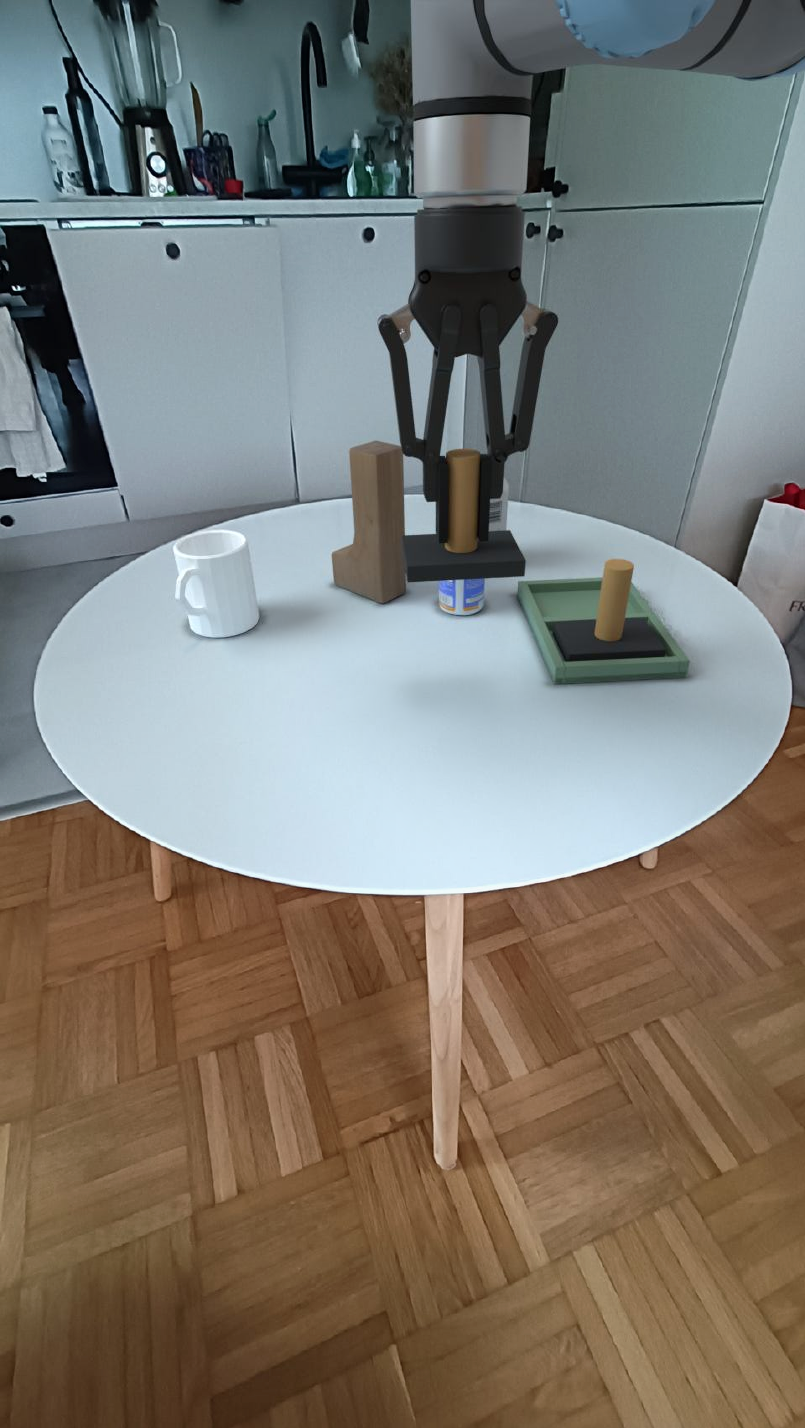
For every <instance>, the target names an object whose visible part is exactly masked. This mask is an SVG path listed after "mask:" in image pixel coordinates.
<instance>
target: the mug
mask: <svg viewBox="0 0 805 1428" xmlns="http://www.w3.org/2000/svg"><path fill="white" fill-rule="evenodd" d="M172 549H173V550H172V551H173V554H174V559H175V564H176V568H177V573H178V577H177V579H176V584H175V594H174V599H175V601H176V603H177V604H178V605H179V607H180V608H181V610H182V612H183V613H184V615H186V616H187V618H188V622H189V627H190V629H191V631H193V632H194V634H196V635H199V636H201V637H206V638H214V639H216V638H217V639H219V638H228V637H234V636H237V635H241V634H243V633H246V632H248V631H249V630H251V629H253V628H254V627H255V626H256V625H257V624H258V622H259V619H260V611H259V604H258V598H257V591H256V584H255V578H254V572H253V566H252V560H251V552H250V547H249V541H248V538H247V536H245V535H244V534H242V533H241V532H238V531H234V530H229V529H228V530H227V529H210V530H203V531H198V532H194V533H190V534H188V535H186V536H183V537H182V538H180V539H179V540H177V541H176V542H175V543H174V545H173V546H172Z"/></svg>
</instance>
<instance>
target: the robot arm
mask: <svg viewBox="0 0 805 1428" xmlns="http://www.w3.org/2000/svg"><path fill="white" fill-rule="evenodd" d="M410 26H411V27H410V28H411V29H410V32H411V34H410V35H411V69H412V70H411V71H412V72H411V73H412V75H411V76H412V77H411V78H412V107H413V194H414V195H415V197H416V198H418V199H422V209H419V208H418V209H417V210H416V214H414V215H413V223H414V224H413V225H414V226H413V227H414V230H413V231H414V232H413V233H414V281H413V285H412V288H411V291H410V293H409V295H408V299H407V303H406V304H405V305H403V306H402V307H400V308H398V309H396V310H395V311H393V312H391V313H390V314H387V313H385V314H381V315H380V316H379V317H378V319H377V329H378V332H379V334H380V336H381V338H382V340H383V342H384V345H385V347H386V349H387V351H388V355H389V364H390V372H391V379H392V380H391V381H392V389H393V397H394V403H395V412H396V413H395V414H396V422H397V428H398V437H399V444H400V446H401V448H402V452H403V456H405V457H407V458H414V459H418V460H420V462H421V463H422V493H423V496H424V499H425V502H426V503H435V534H436V535H437V538H438V542H439V543H448V481H449V465H448V462H447V461H446V455H441V452H442V444H443V437H444V430H445V424H446V423H445V422H446V417H447V416H446V415H447V409H448V402H449V394H450V387H451V381H452V374H453V371H454V366H455V359H456V358H460V357H462V356H466V355H472V356H475V357H476V359H477V364H478V371H479V379H480V380H479V382H480V392H481V402H482V414H483V423H484V424H483V425H484V435H485V443H486V446H485V447H486V449H487V452H486V453H481V458H480V485H479V512H478V539H479V541H488V538H489V516H490V499H500V498H501V496H502V493H503V482H504V481H503V480H504V477H505V463H506V462H507V461H508V459H509V456H511V455H513V454H516V453H518V452H519V453H522V452H525V451H527V450H528V449H529V446H530V443H531V442H530V441H531V436H532V431H533V426H534V425H533V424H534V419H535V413H536V408H537V401H538V396H539V395H538V394H539V391H540V390H539V389H540V384H541V377H542V371H543V365H544V360H545V354H546V349H547V347H548V345H549V342H550V341H551V339H552V337H553V335H554V332H555V331H556V329H557V327H558V324H559V317H558V315H557V314H556V313H555V312H554V311H551V310H549V309H547V308H541V307H540V306H537V305H536V304H534V303H532V302H529V300H528V295H527V291H526V289H525V287H524V283H523V280H522V268H523V267H522V265H523V251H524V234H525V217H526V212H525V211H523V207H522V206H520V205H519V206H518V196H520V195H521V196H522V195H524V193H525V192H526V191H527V183H528V168H529V167H528V166H529V165H528V163H529V146H530V145H529V144H530V127H531V117H532V103H533V102H532V100H533V99H532V88H533V78H534V76H535V75H539V74H542V73H545V72H551V71H557V70H562V69H567V68H572V67H578V66H580V67H581V66H588V65H589V66H590V65H591V66H592V65H602V66H603V65H605V66H614V67H626V68H639V69H653V70H665V71H681V72H687V73H688V72H690V73H699V74H705V75H706V74H707V75H715V76H725V77H726V76H727V77H733V78H736V79H738V80H742V81H748V82H758V81H764V80H768V79H772V78H784V77H789V76H794V75H796V74H798V73H802V72H803V71H805V0H410ZM520 318H521V326H520V330H521V333H522V335H523V336H524V340H523V343H522V347H521V354H520V359H519V366H518V373H517V379H516V386H515V393H514V397H513V398H514V399H513V405H512V412H511V418H510V425H509V431H508V433H506V430H505V419H504V418H505V417H504V416H505V415H504V405H503V393H502V391H503V390H502V380H501V353H500V351H501V350H500V346H501V345H502V344H503V342H504V340H505V338H507V336H508V334H509V333H510V331H511V330H512V328H513V327H514V325H515V324H516V323H517V321H518V319H520ZM414 320H415V321H416V323H417V324H418V327H420V329H421V331H422V332H423V333H424V335H425V336H426V338H427V339H428V341H429V343H430V344H431V346H432V348H433V350H432V351H433V352H432V365H431V374H430V382H429V390H428V398H427V406H426V414H425V423H424V430H423V437H422V438H419V437H417V435H416V426H415V425H416V424H415V415H414V408H413V398H412V390H411V383H410V382H411V380H410V371H409V370H410V369H409V362H408V354H407V351H406V347H405V344H406V343H408V342H409V340H411V335H412V334H411V333H412V332H411V325H412V322H413V321H414Z"/></svg>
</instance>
